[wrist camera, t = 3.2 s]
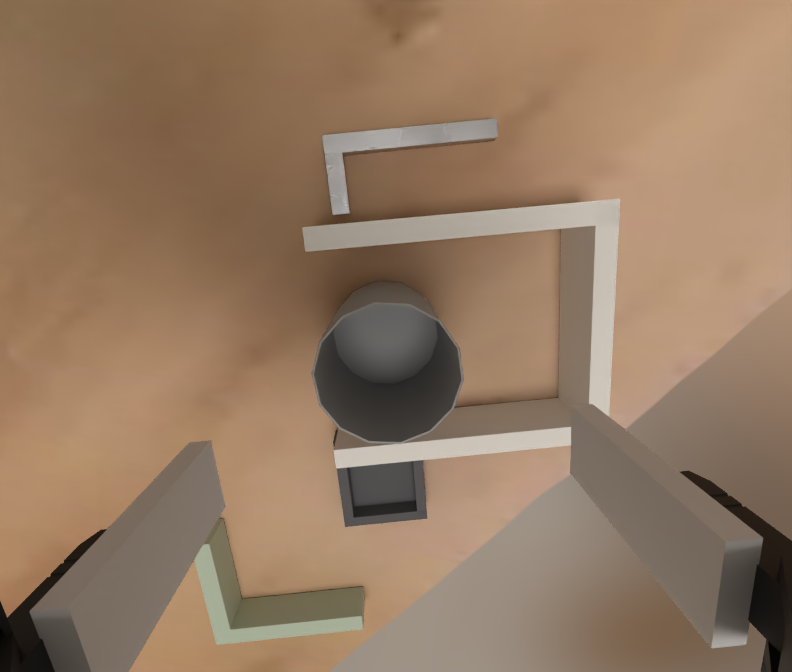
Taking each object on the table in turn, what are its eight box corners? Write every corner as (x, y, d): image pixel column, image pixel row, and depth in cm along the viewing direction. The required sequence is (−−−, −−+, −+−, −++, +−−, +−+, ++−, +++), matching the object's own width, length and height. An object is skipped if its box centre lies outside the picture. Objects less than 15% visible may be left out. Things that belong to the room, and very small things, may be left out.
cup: (382, 258, 30) (382, 269, 20) (459, 327, 32) (494, 368, 22) (312, 339, 31) (281, 384, 22) (389, 401, 33) (393, 470, 23)
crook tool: (334, 215, 29) (332, 214, 28) (324, 139, 28) (322, 135, 27) (494, 199, 29) (499, 198, 28) (492, 123, 28) (497, 118, 27)
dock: (229, 613, 38) (216, 644, 35) (206, 520, 35) (190, 545, 32) (364, 599, 38) (363, 629, 35) (352, 505, 35) (349, 529, 32)
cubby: (342, 434, 34) (336, 468, 29) (314, 228, 29) (302, 227, 24) (575, 412, 34) (607, 441, 29) (581, 204, 30) (620, 198, 25)
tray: (347, 510, 35) (345, 526, 33) (336, 430, 33) (333, 442, 31) (424, 502, 36) (427, 518, 34) (418, 422, 34) (420, 433, 32)
